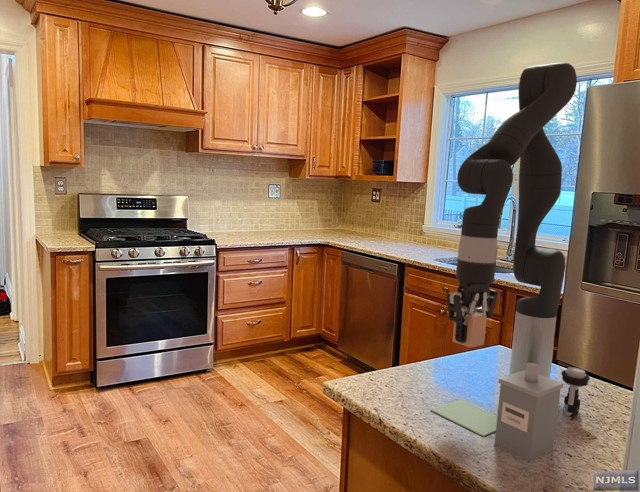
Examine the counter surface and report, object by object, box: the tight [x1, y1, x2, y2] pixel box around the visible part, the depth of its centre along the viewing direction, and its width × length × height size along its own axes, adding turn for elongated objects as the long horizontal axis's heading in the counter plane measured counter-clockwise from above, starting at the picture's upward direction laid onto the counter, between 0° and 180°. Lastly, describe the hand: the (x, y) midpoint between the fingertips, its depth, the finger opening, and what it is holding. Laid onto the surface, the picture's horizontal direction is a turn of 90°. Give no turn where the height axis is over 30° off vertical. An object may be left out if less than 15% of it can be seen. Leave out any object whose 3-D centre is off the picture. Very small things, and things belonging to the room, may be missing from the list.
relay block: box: [452, 308, 488, 348], centre depth 107 cm, size 4×4×8 cm
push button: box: [560, 366, 591, 421], centre depth 109 cm, size 7×5×10 cm
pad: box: [430, 398, 498, 438], centre depth 107 cm, size 10×13×1 cm
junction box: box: [493, 363, 565, 463], centre depth 95 cm, size 9×8×16 cm
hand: (468, 339), depth 108 cm, fingers closed on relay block, 4 cm apart
